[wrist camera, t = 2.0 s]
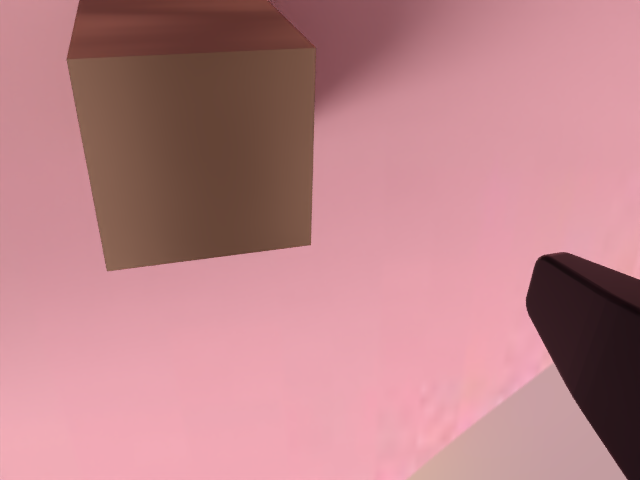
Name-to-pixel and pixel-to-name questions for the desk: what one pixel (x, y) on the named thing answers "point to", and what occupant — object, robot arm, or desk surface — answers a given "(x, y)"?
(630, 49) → the desk surface
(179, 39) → the walnut block
